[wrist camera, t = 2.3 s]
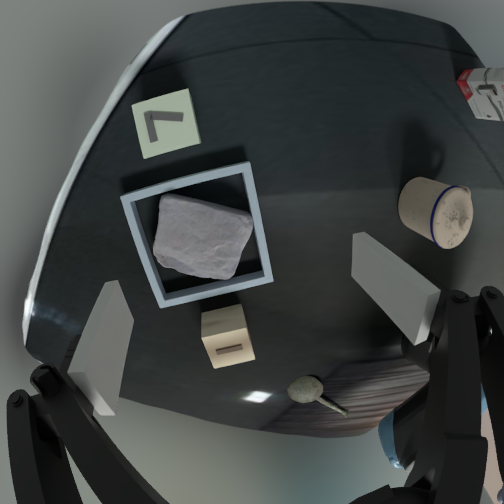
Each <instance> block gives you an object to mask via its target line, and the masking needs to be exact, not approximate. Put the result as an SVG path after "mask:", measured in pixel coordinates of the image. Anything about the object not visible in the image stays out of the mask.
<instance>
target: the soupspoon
mask: <svg viewBox="0 0 504 504" xmlns="http://www.w3.org/2000/svg"><path fill="white" fill-rule="evenodd" d="M287 392H288V394H289V396H290V397H291V398H292V399H293V400H295V401H297V402H301V403H307V402H311V401H314V400H317V401H319V402H321V403H322V404H324V405H326V406H328V407H330V408H332V409H334V410H336V411H338V412H340V413H341V414H342V415H343V416H344V417H347V416H348V415H349V411H343V410H340V409H339V408H337V407H335V406H334V405H332V404H330V403H328V402H327V401H325V400H324V399H322V398H321V397H320V396H321V394H322V392H323V386H322V384H321V382H319V381H318V380H317V379H316V378H314V377H312V376H304V377H301V378H299V379H297V380H296V381H294V382H293V383H292V384H291V385H290V386H289V387H288V389H287Z"/></svg>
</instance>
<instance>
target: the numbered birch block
mask: <svg viewBox="0 0 504 504" xmlns="http://www.w3.org/2000/svg"><path fill="white" fill-rule="evenodd" d="M202 340H203V343H204V345H205V348H206V350H207V353H208V355H209V357H210V360H211V362H212V365H213V367H214V368H219V367H224V366H228V365H233V364H237V363H242V362H246V361H250V360H254V359H255V356H254V352H253V348H252V343H251V339H250V335H249V331H248V327H247V323H246V320H245V316H244V312H243V309H242V305H241V304H237V305H233V306H229V307H225V308H220V309H216V310H212V311H208V312H203V313H202Z"/></svg>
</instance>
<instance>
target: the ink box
mask: <svg viewBox="0 0 504 504" xmlns="http://www.w3.org/2000/svg"><path fill="white" fill-rule="evenodd" d="M456 82H457V84H458V86H459V87H460V89H461V91H462V93H463V94H464V96H465V98H466V100H467V102H468V104H469V106H470V107H471V109H472V111H473V113H474V115H475V118H479V119H489V120H498V121H504V68H479V69H467V70H464V71H463V72H462V74H461V75H460V76H459V78H458V79H457V81H456Z"/></svg>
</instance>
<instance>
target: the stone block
mask: <svg viewBox="0 0 504 504" xmlns="http://www.w3.org/2000/svg"><path fill="white" fill-rule="evenodd" d="M159 209H160V212H159V220H158V227H157V232H156V236H155V241H154V244H153V253H154V255H155V256H156V258H157V261H158V262H159V263H160V264H161V265H162V266H163V267H166V268H174V269H176V270H177V271H179V272H182V273H185V274H189V275H195V276H198V277H203V278H210V277H211V278H213V279H225V280H227V279H230V278H231V277H232V276H233V275H234V273H235V270H236V268H237V266H238V263H239V259H240V256H241V253H242V250H243V248H244V247H245V245H246V243H247V241H248V239H249V237H250V235H251V232H252V229H253V218H252V216H251V215H250V214H249V212H247V211H243V210H240V209H235V208H231V207H228V206H223V205H219V204H215V203H212V202H207V201H203V200H199V199H194V198H190V197H186V196H182V195H178V194H174V193H167V194H165V195H163V196H161V199H160V205H159Z"/></svg>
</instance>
